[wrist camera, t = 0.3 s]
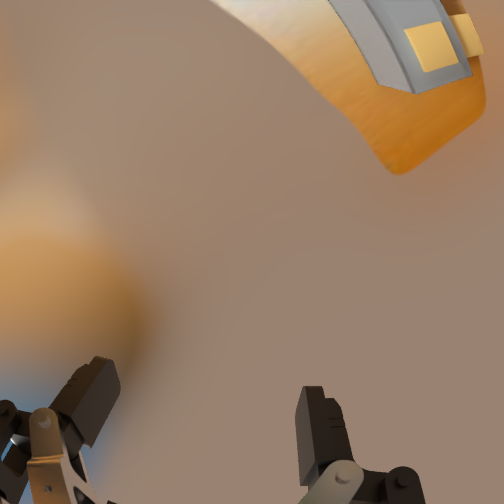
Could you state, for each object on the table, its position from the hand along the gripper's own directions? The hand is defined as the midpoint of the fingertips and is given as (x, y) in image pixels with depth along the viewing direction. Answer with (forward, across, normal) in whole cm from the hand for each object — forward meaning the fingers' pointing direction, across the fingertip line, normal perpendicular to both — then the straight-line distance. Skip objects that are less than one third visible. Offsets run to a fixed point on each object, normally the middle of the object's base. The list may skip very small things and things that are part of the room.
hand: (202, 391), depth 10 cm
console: (+22, -14, -30) cm, 39 cm away
